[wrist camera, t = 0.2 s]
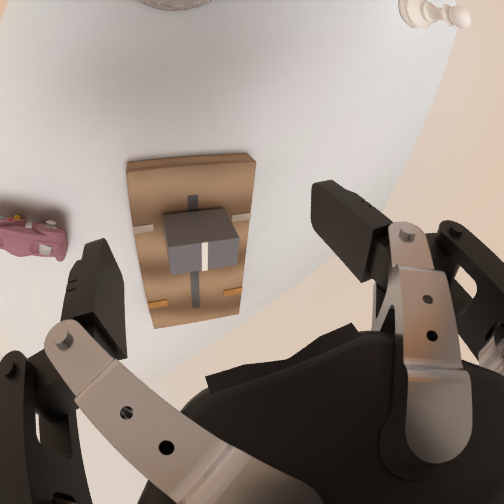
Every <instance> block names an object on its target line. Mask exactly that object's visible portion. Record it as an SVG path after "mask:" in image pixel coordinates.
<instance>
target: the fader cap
mask: <svg viewBox="0 0 504 504" xmlns="http://www.w3.org/2000/svg"><path fill="white" fill-rule="evenodd" d="M163 227H164V238H165V245H166V251H167V256H168V262H169V267H170V272H171V275H174V274H180V273H187V272H194V271H200V270H202V271H207V270H208V269H214V268H220V267H227V266H233V265H237V262H238V251H239V241H240V237H239V235H238V234H237V232H236V230H235V228H234V226H233V224H232V222H231V220H230V218H229V216H228V215H227V213H226V211H225V209H224V208H222V209H212V210H202V211H193V212H184V213H176V214H167V215H163Z"/></svg>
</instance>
